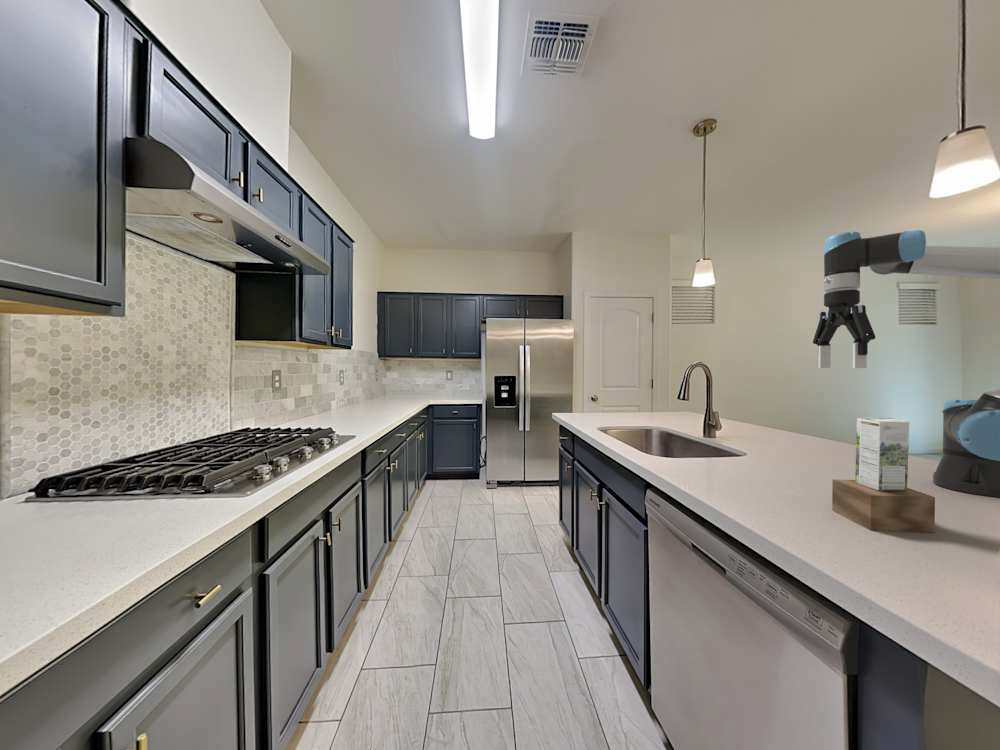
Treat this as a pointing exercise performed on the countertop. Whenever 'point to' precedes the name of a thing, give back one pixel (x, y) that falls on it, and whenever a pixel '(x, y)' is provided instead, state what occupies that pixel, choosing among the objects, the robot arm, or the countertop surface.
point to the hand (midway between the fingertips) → (840, 368)
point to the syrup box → (882, 453)
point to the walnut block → (884, 507)
